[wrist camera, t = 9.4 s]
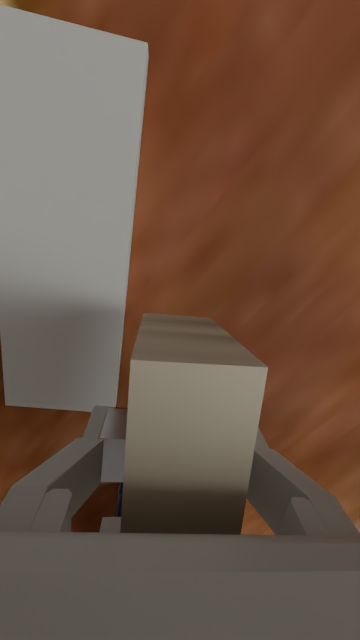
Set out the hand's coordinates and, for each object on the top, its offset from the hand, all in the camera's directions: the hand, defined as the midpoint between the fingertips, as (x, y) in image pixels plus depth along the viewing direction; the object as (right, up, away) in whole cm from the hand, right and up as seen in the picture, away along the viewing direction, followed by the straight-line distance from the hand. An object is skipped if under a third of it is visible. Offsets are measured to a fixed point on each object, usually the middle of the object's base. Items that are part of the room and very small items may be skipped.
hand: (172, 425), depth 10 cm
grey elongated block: (-1, -4, +3) cm, 5 cm away
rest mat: (-6, +8, +5) cm, 11 cm away
